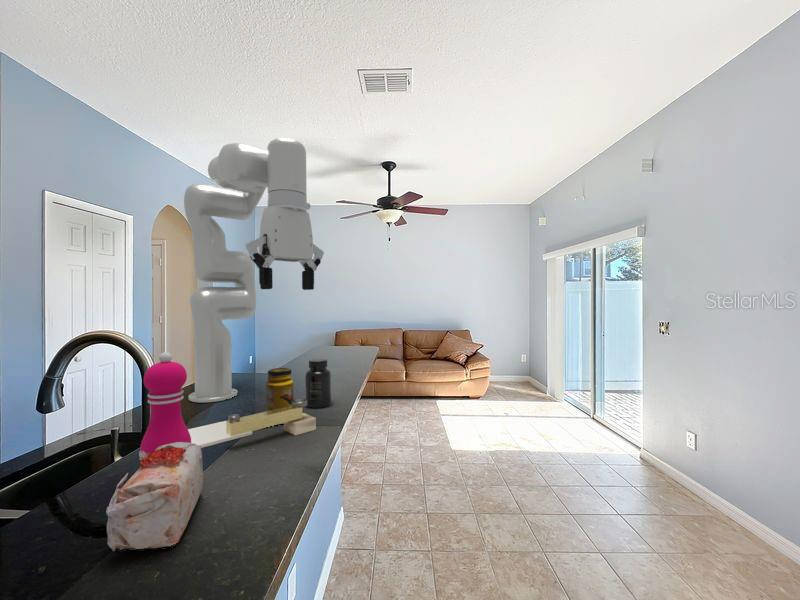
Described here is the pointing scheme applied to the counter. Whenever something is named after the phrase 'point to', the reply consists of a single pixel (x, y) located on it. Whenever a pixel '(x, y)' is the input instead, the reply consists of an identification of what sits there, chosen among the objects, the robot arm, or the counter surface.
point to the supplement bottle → (318, 384)
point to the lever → (264, 418)
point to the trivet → (212, 434)
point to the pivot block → (301, 425)
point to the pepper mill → (165, 404)
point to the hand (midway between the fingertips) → (288, 289)
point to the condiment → (279, 389)
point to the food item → (156, 498)
